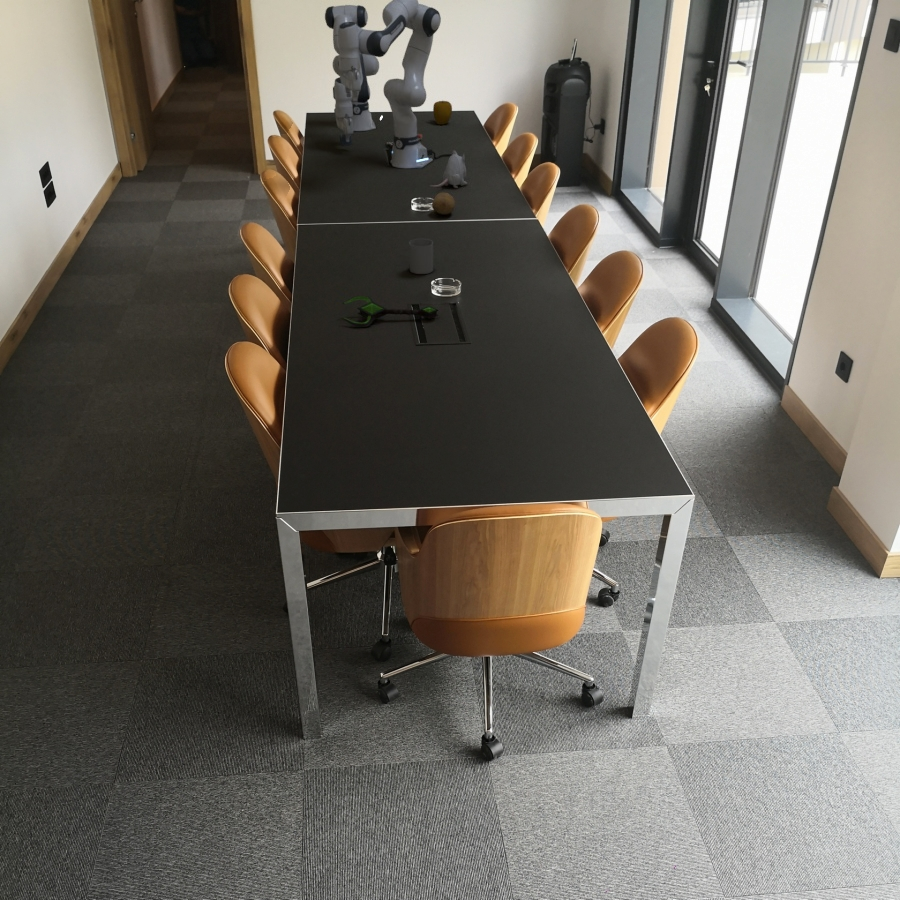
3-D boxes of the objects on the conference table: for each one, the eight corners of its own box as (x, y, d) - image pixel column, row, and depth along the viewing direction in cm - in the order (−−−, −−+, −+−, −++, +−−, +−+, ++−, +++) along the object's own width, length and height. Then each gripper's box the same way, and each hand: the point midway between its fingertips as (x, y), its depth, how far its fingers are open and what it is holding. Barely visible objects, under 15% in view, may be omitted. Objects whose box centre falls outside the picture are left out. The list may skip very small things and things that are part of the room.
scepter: (438, 291, 273) (342, 288, 271) (439, 321, 266) (340, 319, 264) (437, 304, 278) (343, 302, 276) (438, 334, 271) (341, 332, 269)
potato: (453, 208, 369) (453, 189, 365) (456, 218, 357) (456, 199, 353) (431, 208, 368) (430, 189, 364) (432, 218, 356) (432, 199, 352)
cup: (409, 265, 311) (408, 238, 306) (432, 265, 312) (431, 238, 307) (410, 274, 304) (409, 246, 299) (433, 273, 305) (433, 246, 299)
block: (342, 145, 447) (341, 136, 444) (340, 143, 450) (339, 134, 448) (351, 145, 448) (350, 135, 446) (349, 143, 452) (348, 133, 449)
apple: (451, 126, 500) (451, 102, 493) (433, 126, 500) (432, 102, 493) (452, 121, 509) (452, 98, 502) (433, 121, 509) (433, 98, 502)
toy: (472, 184, 399) (472, 151, 391) (436, 195, 384) (436, 161, 376) (457, 180, 404) (458, 147, 396) (422, 191, 389) (421, 157, 381)
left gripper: (355, 115, 434) (357, 144, 441) (345, 107, 450) (346, 135, 457) (343, 116, 432) (345, 145, 439) (333, 108, 448) (335, 136, 455)
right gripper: (363, 68, 363) (365, 103, 370) (350, 60, 379) (352, 94, 386) (348, 68, 361) (350, 104, 368) (336, 61, 377) (338, 95, 385)
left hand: (345, 140), depth 448 cm, fingers closed on block, 4 cm apart
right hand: (351, 99), depth 378 cm, fingers open, 8 cm apart
